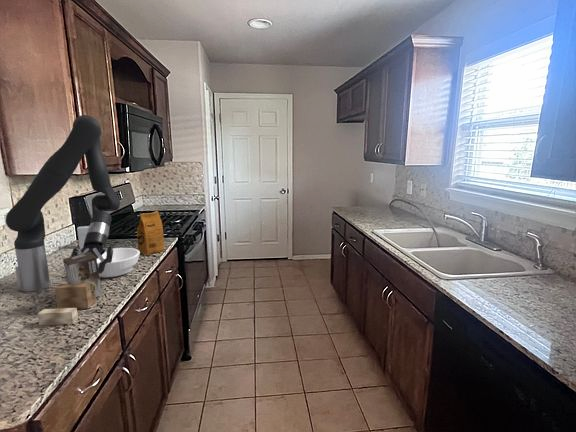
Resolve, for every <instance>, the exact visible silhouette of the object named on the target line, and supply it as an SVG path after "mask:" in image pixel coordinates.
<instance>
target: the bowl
mask: <svg viewBox="0 0 576 432" xmlns="http://www.w3.org/2000/svg"><path fill="white" fill-rule="evenodd" d="M112 249H113V256H112V262H111V263H106V264H105V268H104V271H103V272H102V273H99V276H100V278H113V277H119V276H123V275H126V274H129V273H130V272H132V271H133V269H134V267H135V265H136V264H137V263H138V262H139V258H140V254H141V253H140V251H139V250H138V248H133V247H118V248H117V247H115V248H112ZM106 256H107V252H106V251H105V253H104V254H102V257H103V258H104V259H106ZM100 262H101V261H100V259H99V258H98V259H97V264H98V267H99V263H100Z"/></svg>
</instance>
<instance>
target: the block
mask: <svg viewBox="0 0 576 432" xmlns="http://www.w3.org/2000/svg"><path fill="white" fill-rule="evenodd" d="M54 294H55V300H56V306H57V309H59V308H77V310H79V309H80V310H82V309H90V307H92V306H93V304H95V303H96V302H97V297H95V294H91V287H90V283H85V284H68V283H63V284H57V286H55V287H54Z"/></svg>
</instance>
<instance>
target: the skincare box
mask: <svg viewBox="0 0 576 432" xmlns="http://www.w3.org/2000/svg"><path fill="white" fill-rule="evenodd" d="M89 226H90V225H84V226H77V228H76V231H77V237H78V239H77V240H78V247H79V249H82V248H83V247H84V241H85V238H86V234H87V231H88V228H89Z"/></svg>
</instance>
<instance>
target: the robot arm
mask: <svg viewBox="0 0 576 432" xmlns="http://www.w3.org/2000/svg"><path fill="white" fill-rule="evenodd" d="M101 127H102V126H101V124H100V123H99V121H98V120H97V119H95V118H94V117H93V116H92V115H91V116H90V115H87V114H82V115H79V116H77V117H76V118H75V119H74V121H73V122H72V129H70V133H69V134H68V136H67V138H66V139H65V141H64V143H63V144H62V145H61V147H59V148H58V150H56V151H55V152H54V153H53V154H52V155H51V156H50V157H49V158H48V159H47V160H46V161H45V163H44V164H43V166H42V167H41V168H40V170H39V171H38V172H37V175H36V176H35V177H34V179H33V180H32V181H31V183H30V185H29V187H28V188H27V189H26V191H25V193H24V194H23V195H22V196H21V198H20V199H19V200H18V201H17V202H16V203H15V204H14V206H12V208H11V209H10V210H9V211H8V212H7V214H6V216H5V224H6V227H8V229H9V230H11V231H14V232H17V236H16V238H15V240H14V241H13V244H14V252H15V257H16V263H17V266H16V267H15V274H16V280H17V285H18V291H22V292H26V293H28V292H29V293H30V292H36V291H37V292H38V291H42V290H45V289H46V288H48V287H50V286H51V279H50V272H49V265H48V259H47V251H46V246H45V239H46V229H45V228H46V227H45V218H44V215H43V212H42V209H43V207H44V206H45V205H46V204H47V203H48V202H49V201H50V200H51V199H53V198H54V196H56V195H57V194H58V193H59V192H60V191H61V190H62V189H63V188H64V187H65V186H66V184H67V183H68V181H69V180H70V178H71V177H72V175H73V174H74V173H75V170H76V169H77V168H78V166H79V165H80V162H81V161H82V158H83V157H85V162H86V168H87V169H86V170H87V172H88V176H89V177H88V178H89V180H90V183H91V187H92V190H93V191H95V192H97V193H101V194H97V195H95V196H94V197H92V199H91V220H90V222H89V225H88V226H89V228H88V231H87V234H86V238H85V241H84V247H83V248H82V249H80V248H76V247H75V248H73V249H72V252H71V255H70V257H72V256H76V255H80V254H83V253H87V252H91V253H92V254H93V255H94V256H95V257H96V258H97V259H98V258H99V259H100V261H101V262H100V263H99V267H98V270H99V273H102V272H103V271H104V268H105V264H106V263H111V262H112V256H113V249H114V248H113V247H112V246H109V245H108V247H106V246H107V243H108V238H109V236H110V227H111V224H112V215H111V214H110V213H108V212H115V211H118V210H119V208H120V207H121V202H120V201H121V200H120V198H119V197H118V195H117V192H116V191H115V190H114V188H113V186H112V183H111V179H110V175H109V171H108V168H107V164H106V161H105V158H104V155H103V151H102V146H101V135H102V128H101ZM105 251H106V252H107V256H106V259H104V258H103V257H102V254H104V253H105Z"/></svg>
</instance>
